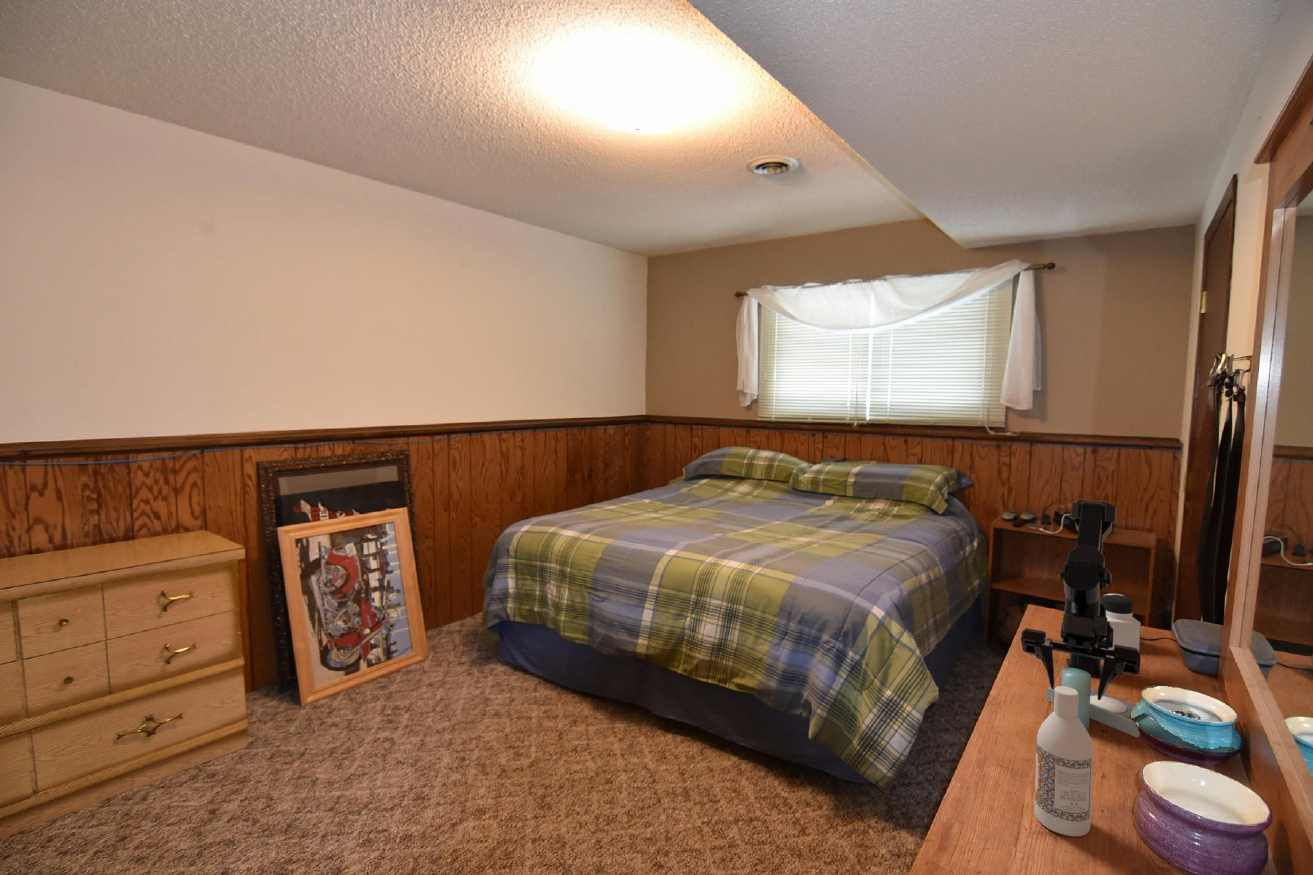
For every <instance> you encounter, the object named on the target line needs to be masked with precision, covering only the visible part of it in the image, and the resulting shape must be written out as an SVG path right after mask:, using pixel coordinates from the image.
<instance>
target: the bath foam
mask: <svg viewBox="0 0 1313 875" xmlns="http://www.w3.org/2000/svg"><path fill="white" fill-rule="evenodd" d="M1054 689H1055V698H1054V703H1053V712H1051V713H1050V715H1048V717H1046V719H1045V720H1044V721H1043V722H1042V724H1041V725H1040V726H1039V728H1038V731H1037V736H1036V749H1035V779H1034V780H1035V781H1034V783H1035V784H1034V814H1035V816H1036V819H1037V820H1038V821H1039V823H1040V824H1042V825H1043V826H1044V827H1045V828H1047V829H1049V830H1050V831H1053V832H1054V833H1057V834H1060V835H1063V836H1067V837H1082V836H1086V835H1087V834H1088V833H1089V832H1090V829H1091V824H1092V822H1091V820H1092V799H1093V798H1092V795H1093V773H1094V771H1093V769H1094V746H1093V742H1092V739H1091V736H1090V734H1089V732H1088V731H1087V730H1086V728H1085V727H1084V725H1083V724H1082V722H1081V721H1080V719H1079V718H1078V698H1079V694H1078V692H1077V691H1076V690H1075V689H1073V688H1070V687H1066V686H1061V685H1059V686H1058V685H1057V686H1056V687H1054Z"/></svg>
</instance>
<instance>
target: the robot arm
mask: <svg viewBox="0 0 1313 875" xmlns="http://www.w3.org/2000/svg"><path fill="white" fill-rule="evenodd" d="M1070 517H1071V519H1073V520H1074V522H1075V523H1074V524H1075V529H1076V531H1077V539H1076V547H1074V549H1072V550H1070V551H1069V552H1068V554H1067V561H1065V562H1063V563H1062V567H1061V571H1060V576H1059V577H1060V581H1061V582H1063V586H1064V587H1063V588H1064V589H1063V590H1064V595H1065V602H1064V604H1065V605H1064V613H1063V618H1062V623H1061V626H1060V638H1061V640H1057V639H1051V638H1049V637H1047V634H1046V633H1047V632H1046V631H1045V630H1038V629H1032V628H1027V627H1025V628H1024V629H1023V630H1022V631H1021V637H1020V642H1021V647H1022V651H1023V652H1024V653H1026V654H1031V655H1034V656H1035V658H1036V659H1038V660H1041V661H1042V662H1041V663H1042V664H1043V667H1044V669H1045V671H1046V673H1047V677H1048V678H1047V679H1048V681H1049V685H1050V686H1049V687H1051V689H1053V690H1054V689H1055V684H1056V683H1055V667H1054V666H1055V665H1054V656H1053V652H1054V651H1055V652H1061V653H1065V654H1066V653H1067V654H1069V658H1066V661H1065V662H1066V665H1067V668H1076V669H1081V670H1084V671H1086V672H1088V673H1089V674H1090V675H1091V677H1093V676H1094V677H1098V678H1100V679H1099V683H1098V684H1099V685H1098V688H1097V691H1098V700H1101V698H1102V696H1103V694H1104V693H1105V694H1106V691H1107V689H1108V688H1109V686H1110V684H1111V683H1112V682H1113V681H1114V679H1116V677H1117V676H1118V677H1119V676H1120V677H1123V676H1124V674H1131V675H1140V672H1141V671H1140V669H1141V654H1142V653H1141V651H1140V650H1138V649H1137V648H1132V647H1127V646H1121V645H1116V644H1114V650H1108V649H1109V648H1113V628H1112V627H1111V625H1110V621H1107V617H1106V610H1105V608H1104V606H1103V605H1102V601H1101V596H1100V592H1101V591H1102V590H1103V589H1104V588H1107V587H1108V586H1109V585H1111V583H1112V578H1113V577H1112V576H1113V575H1112V574H1113V573H1111V572H1110V570H1109V567H1105V561H1106V560H1105V555H1103V543H1104V540H1105V539H1106V538H1107V537H1108V536H1109V535H1110V534H1111V533H1112V530H1113V523H1115V524H1116V521H1117V506H1115V505H1113V504H1112V503H1111V501H1102V500H1090V499H1079V500H1078V501H1076V502H1071V514H1070ZM1100 590H1101V591H1100ZM1105 638H1106V639H1105ZM1106 649H1107V650H1106ZM1102 661H1103V665H1102Z"/></svg>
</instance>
